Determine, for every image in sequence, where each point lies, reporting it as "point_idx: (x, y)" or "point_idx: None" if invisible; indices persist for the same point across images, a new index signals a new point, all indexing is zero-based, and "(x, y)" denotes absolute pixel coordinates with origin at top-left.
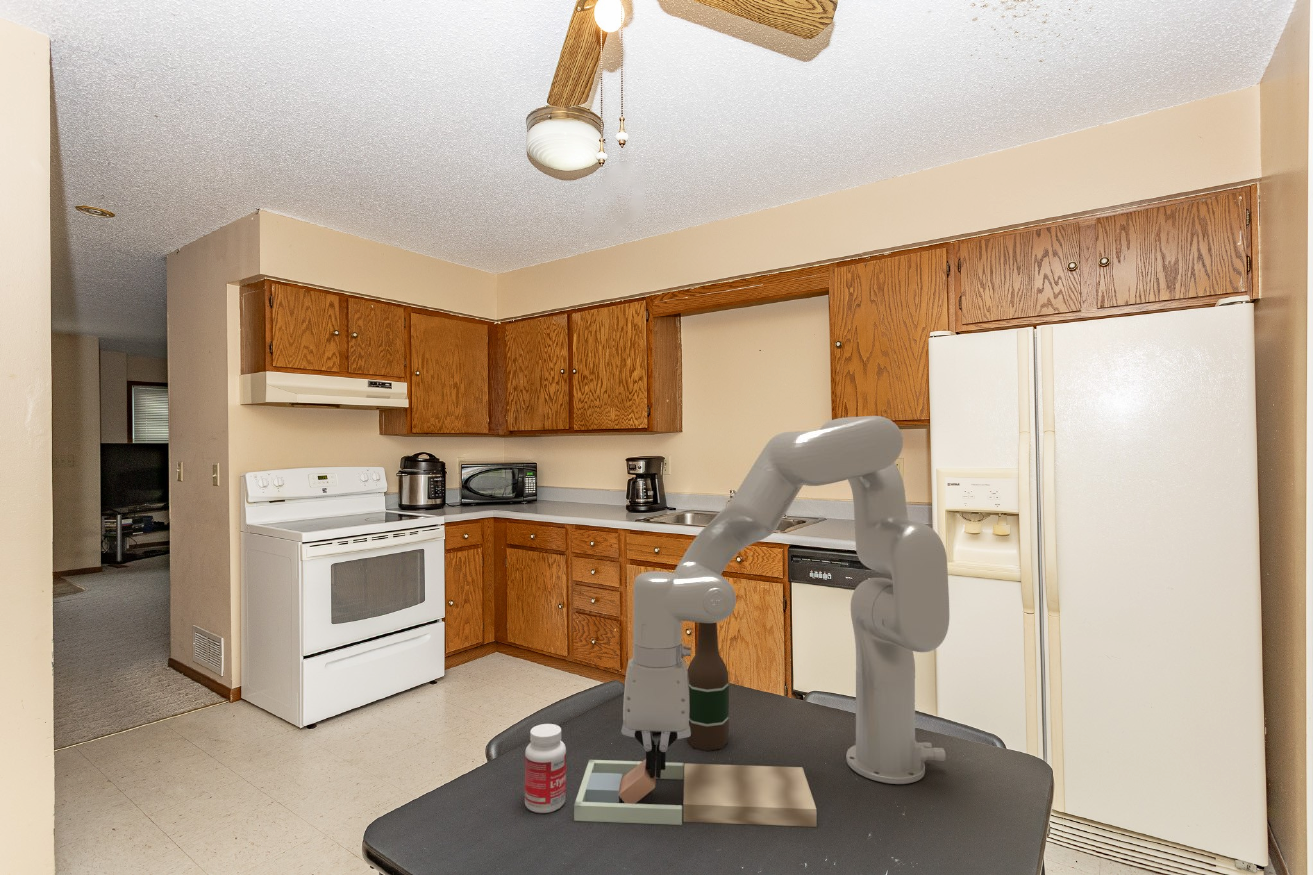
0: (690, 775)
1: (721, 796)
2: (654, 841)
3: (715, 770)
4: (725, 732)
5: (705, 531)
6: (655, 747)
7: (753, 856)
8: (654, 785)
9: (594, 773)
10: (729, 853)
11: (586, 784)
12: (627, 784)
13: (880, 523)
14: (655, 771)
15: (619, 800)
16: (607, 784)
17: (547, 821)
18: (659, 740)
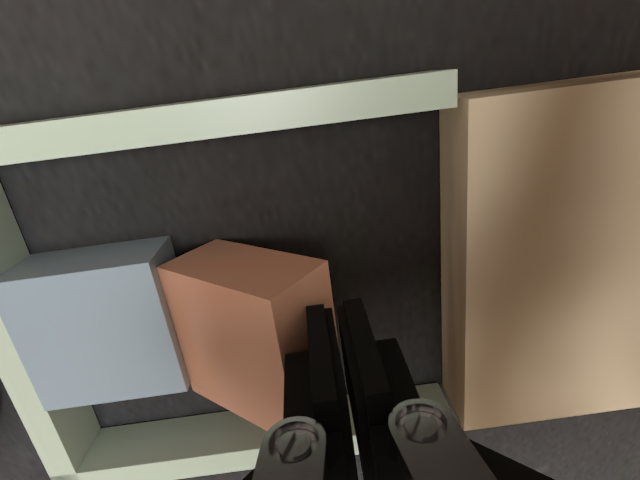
0: (498, 223)
1: (618, 359)
2: (362, 477)
3: (635, 146)
4: None
5: None
6: (352, 441)
7: (628, 474)
8: None
9: (7, 287)
10: (567, 477)
11: (23, 370)
12: (214, 378)
13: None
14: (325, 279)
15: None
16: (118, 360)
17: (2, 465)
18: (388, 460)
